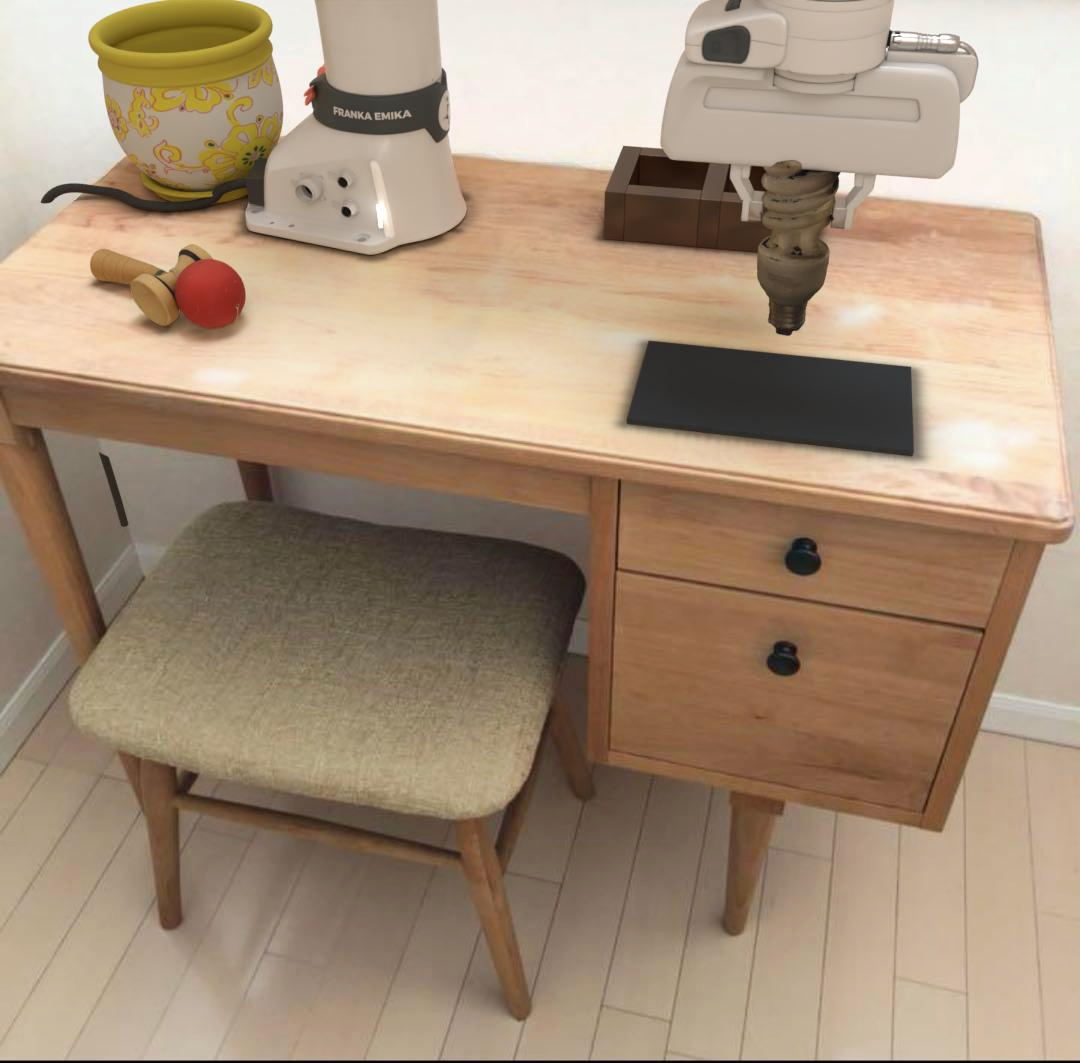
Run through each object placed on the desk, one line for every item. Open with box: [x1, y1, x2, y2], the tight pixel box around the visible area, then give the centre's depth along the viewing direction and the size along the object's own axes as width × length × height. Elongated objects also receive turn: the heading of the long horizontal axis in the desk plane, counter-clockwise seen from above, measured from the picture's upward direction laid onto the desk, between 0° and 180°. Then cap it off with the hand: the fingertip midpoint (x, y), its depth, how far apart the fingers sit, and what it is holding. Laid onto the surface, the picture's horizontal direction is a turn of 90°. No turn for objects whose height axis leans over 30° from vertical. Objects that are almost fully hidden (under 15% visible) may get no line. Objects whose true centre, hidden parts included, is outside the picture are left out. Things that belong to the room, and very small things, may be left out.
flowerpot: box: [87, 0, 284, 205], centre depth 127 cm, size 18×18×16 cm
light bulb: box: [756, 160, 842, 337], centre depth 90 cm, size 6×6×15 cm
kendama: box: [89, 243, 247, 329], centre depth 110 cm, size 8×6×18 cm
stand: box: [603, 145, 772, 253], centre depth 121 cm, size 20×11×5 cm, turn 78°
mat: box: [626, 340, 915, 456], centre depth 99 cm, size 22×12×1 cm, turn 78°
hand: (795, 222), depth 89 cm, fingers closed on light bulb, 5 cm apart
